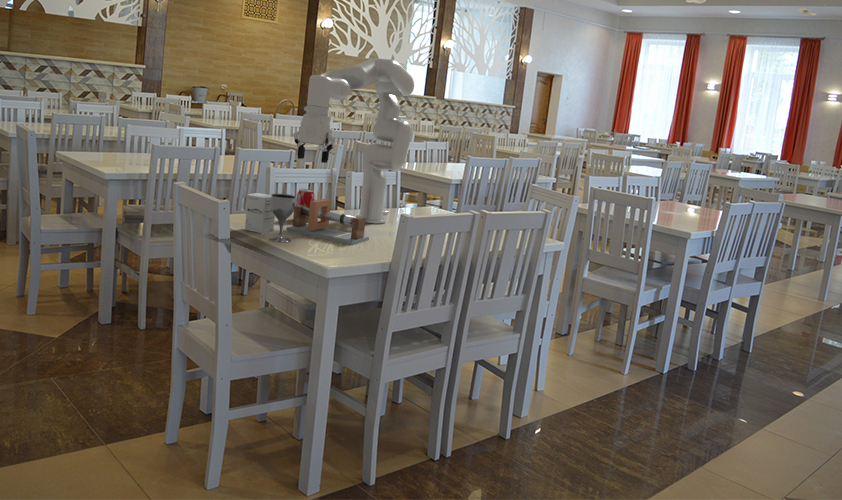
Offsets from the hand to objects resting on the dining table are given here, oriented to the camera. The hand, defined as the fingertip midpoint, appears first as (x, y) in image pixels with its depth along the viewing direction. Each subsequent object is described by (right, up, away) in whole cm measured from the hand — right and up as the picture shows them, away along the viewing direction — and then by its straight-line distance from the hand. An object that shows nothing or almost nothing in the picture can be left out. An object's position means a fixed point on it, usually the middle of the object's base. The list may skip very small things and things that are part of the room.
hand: (312, 160), depth 238 cm
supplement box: (-18, -25, -4) cm, 31 cm away
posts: (+5, -27, +2) cm, 27 cm away
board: (+5, -27, +2) cm, 27 cm away
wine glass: (-8, -29, -14) cm, 33 cm away
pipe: (+6, -21, +1) cm, 22 cm away
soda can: (-7, -20, +23) cm, 32 cm away
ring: (+2, -24, +3) cm, 24 cm away
